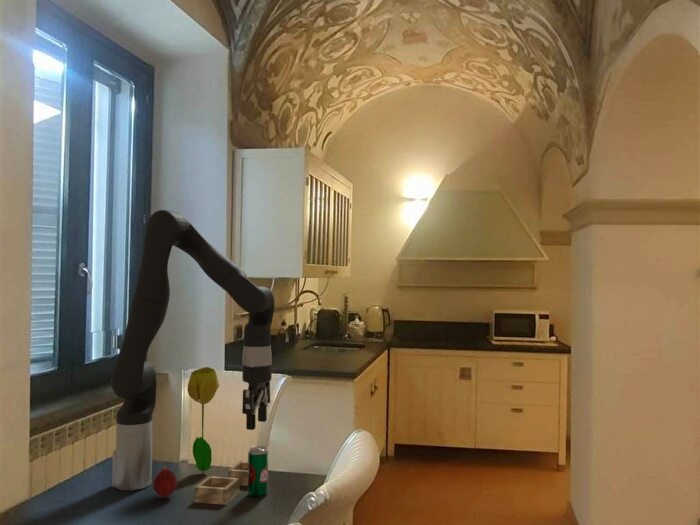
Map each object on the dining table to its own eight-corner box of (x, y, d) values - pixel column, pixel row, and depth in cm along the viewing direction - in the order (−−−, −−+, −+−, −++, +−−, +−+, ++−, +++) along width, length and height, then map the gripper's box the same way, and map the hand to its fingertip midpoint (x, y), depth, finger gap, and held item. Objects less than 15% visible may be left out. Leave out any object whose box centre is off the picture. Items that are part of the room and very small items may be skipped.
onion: (181, 496, 158) (181, 464, 158) (166, 503, 153) (166, 471, 153) (164, 492, 160) (164, 461, 160) (148, 499, 155) (148, 468, 155)
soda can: (263, 498, 156) (264, 451, 156) (245, 497, 157) (245, 450, 157) (270, 491, 161) (270, 446, 161) (252, 490, 162) (252, 444, 162)
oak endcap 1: (194, 502, 153) (194, 487, 153) (209, 490, 162) (209, 476, 162) (226, 504, 152) (226, 489, 152) (239, 492, 160) (239, 478, 160)
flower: (195, 467, 181) (196, 366, 181) (221, 469, 179) (222, 366, 180) (183, 477, 172) (184, 370, 173) (210, 479, 171) (211, 371, 172)
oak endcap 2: (228, 484, 167) (228, 470, 167) (239, 474, 175) (239, 461, 175) (257, 486, 165) (257, 472, 165) (268, 476, 173) (268, 462, 173)
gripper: (253, 358, 167) (252, 418, 167) (233, 366, 153) (232, 431, 153) (279, 359, 166) (279, 419, 165) (261, 367, 152) (261, 433, 151)
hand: (256, 425), depth 159 cm, fingers open, 8 cm apart
